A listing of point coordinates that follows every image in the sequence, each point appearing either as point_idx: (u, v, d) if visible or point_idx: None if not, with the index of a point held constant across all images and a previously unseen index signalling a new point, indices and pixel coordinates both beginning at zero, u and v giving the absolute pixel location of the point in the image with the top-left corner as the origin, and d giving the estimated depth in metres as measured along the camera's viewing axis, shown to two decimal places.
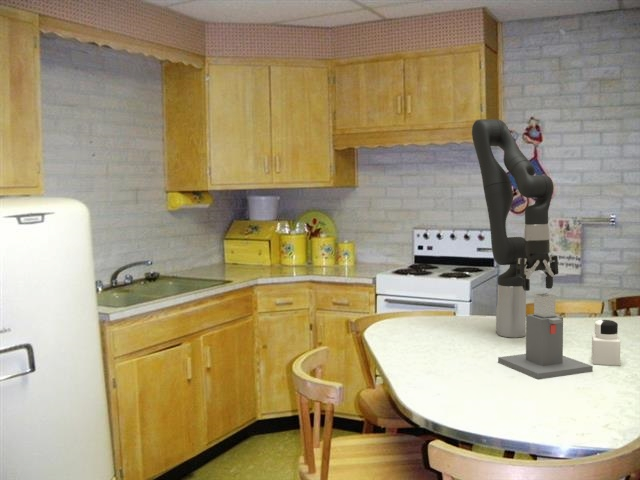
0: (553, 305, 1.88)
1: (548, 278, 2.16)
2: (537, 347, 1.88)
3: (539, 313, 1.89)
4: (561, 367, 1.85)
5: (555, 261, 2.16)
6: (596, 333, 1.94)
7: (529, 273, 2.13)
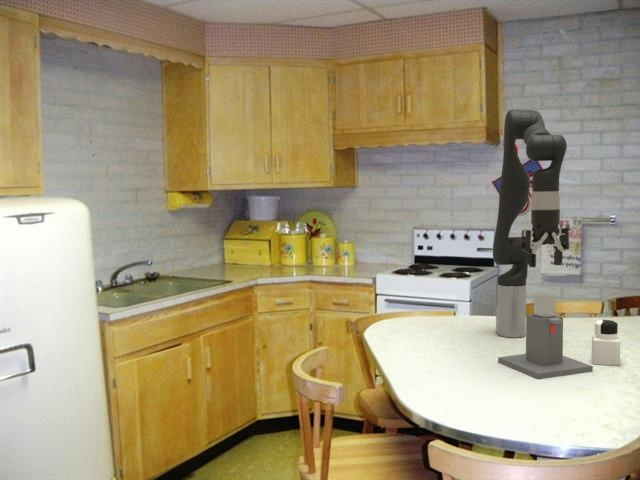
0: (553, 305, 1.88)
1: (557, 253, 1.90)
2: (537, 347, 1.88)
3: (539, 313, 1.89)
4: (561, 367, 1.85)
5: (566, 234, 1.89)
6: (596, 333, 1.94)
7: (536, 247, 1.86)
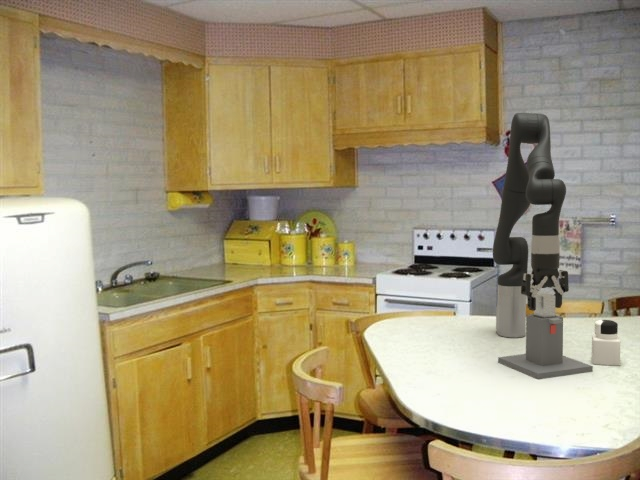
0: (553, 305, 1.88)
1: (557, 296, 1.91)
2: (537, 347, 1.88)
3: (539, 313, 1.89)
4: (561, 367, 1.85)
5: (565, 277, 1.90)
6: (596, 333, 1.94)
7: (535, 291, 1.87)
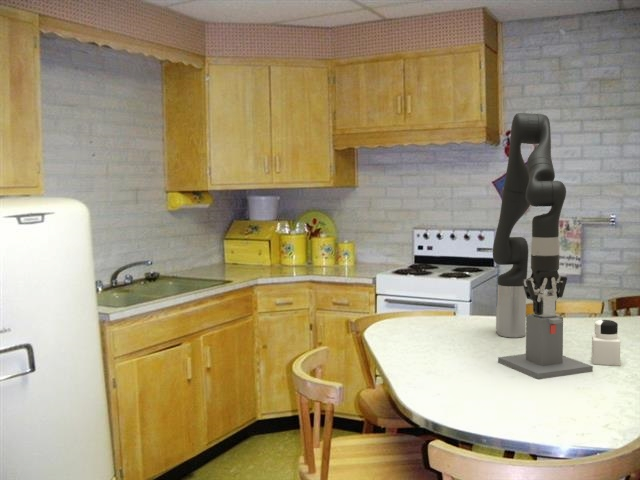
0: (553, 305, 1.88)
1: None
2: (537, 347, 1.88)
3: None
4: (561, 367, 1.85)
5: (563, 282, 1.90)
6: (596, 333, 1.94)
7: (540, 295, 1.88)
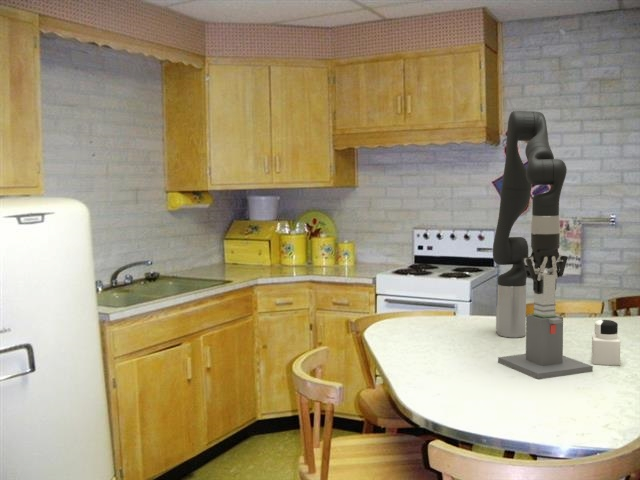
0: (553, 284, 1.88)
1: None
2: (537, 347, 1.88)
3: None
4: (561, 367, 1.85)
5: (563, 262, 1.90)
6: (596, 333, 1.94)
7: (540, 274, 1.87)
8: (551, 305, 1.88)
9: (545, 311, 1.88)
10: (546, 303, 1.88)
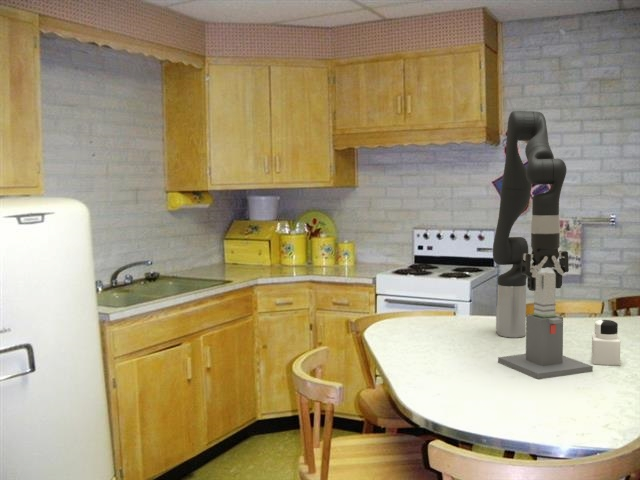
0: (553, 284, 1.88)
1: (557, 276, 1.90)
2: (537, 347, 1.88)
3: (540, 292, 1.88)
4: (561, 367, 1.85)
5: (565, 257, 1.90)
6: (596, 333, 1.94)
7: (535, 271, 1.86)
8: (551, 305, 1.88)
9: (545, 311, 1.88)
10: (546, 303, 1.88)
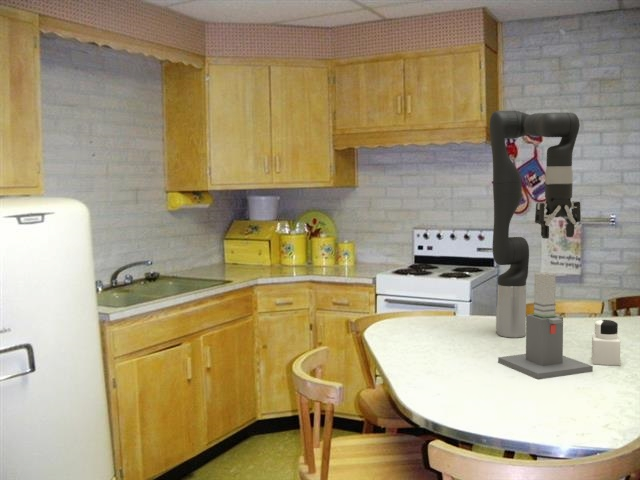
0: (553, 284, 1.88)
1: (569, 226, 2.00)
2: (537, 347, 1.88)
3: (540, 292, 1.88)
4: (561, 367, 1.85)
5: (578, 207, 1.99)
6: (596, 333, 1.94)
7: (549, 219, 1.96)
8: (551, 305, 1.88)
9: (545, 311, 1.88)
10: (546, 303, 1.88)
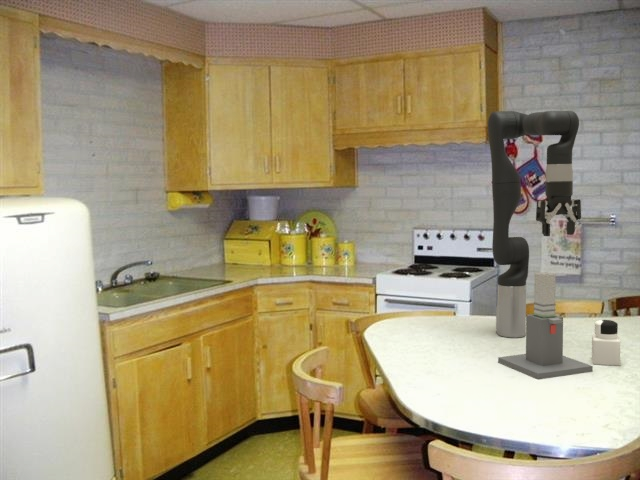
0: (553, 284, 1.88)
1: (570, 223, 2.00)
2: (537, 347, 1.88)
3: (540, 292, 1.88)
4: (561, 367, 1.85)
5: (578, 205, 2.00)
6: (596, 333, 1.94)
7: (550, 217, 1.96)
8: (551, 305, 1.88)
9: (545, 311, 1.88)
10: (546, 303, 1.88)
